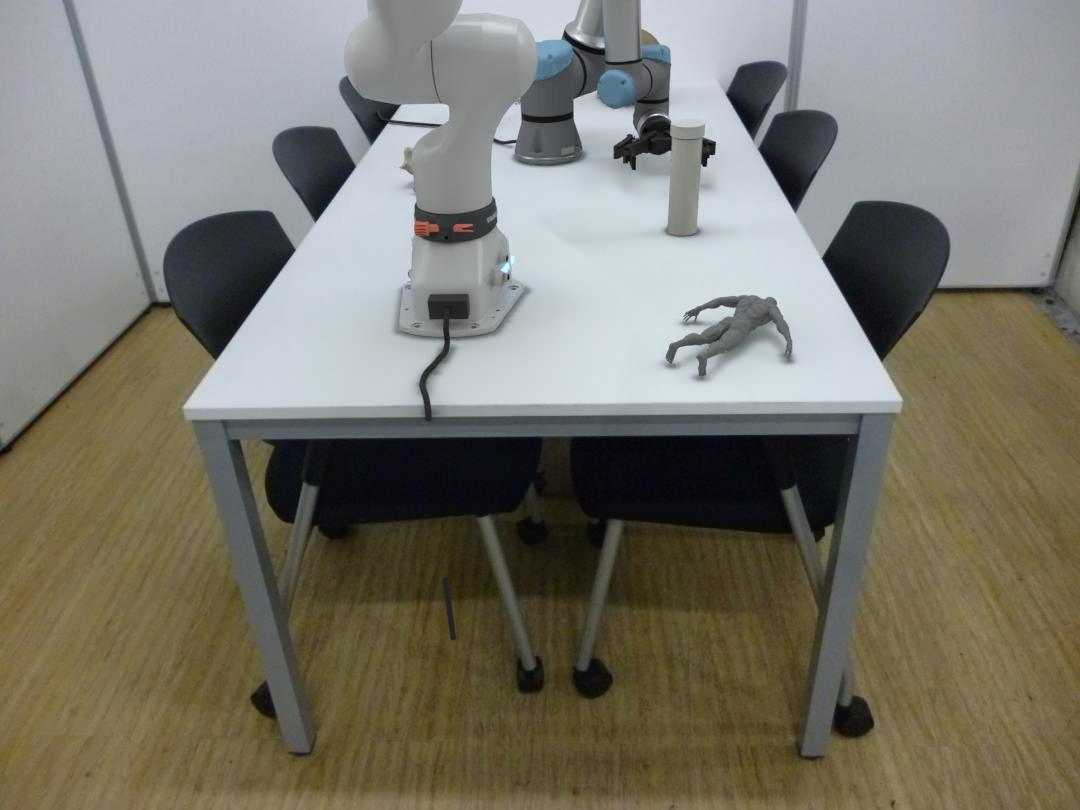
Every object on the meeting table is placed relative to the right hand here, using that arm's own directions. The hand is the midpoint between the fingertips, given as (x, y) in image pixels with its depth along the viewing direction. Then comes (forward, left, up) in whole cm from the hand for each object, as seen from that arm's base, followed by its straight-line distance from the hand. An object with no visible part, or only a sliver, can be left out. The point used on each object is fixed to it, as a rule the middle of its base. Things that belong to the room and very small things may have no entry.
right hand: (669, 161), depth 159 cm
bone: (-30, -40, -7) cm, 50 cm away
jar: (+17, -8, -7) cm, 20 cm away
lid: (+17, -8, +12) cm, 22 cm away
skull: (-75, +33, -7) cm, 82 cm away
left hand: (-5, -35, +41) cm, 54 cm away
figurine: (+56, -26, -7) cm, 61 cm away
